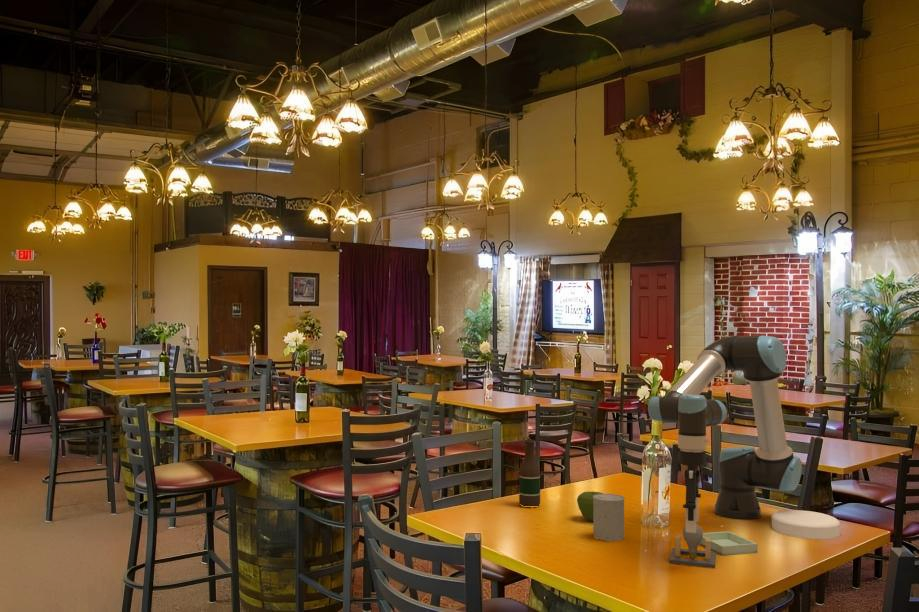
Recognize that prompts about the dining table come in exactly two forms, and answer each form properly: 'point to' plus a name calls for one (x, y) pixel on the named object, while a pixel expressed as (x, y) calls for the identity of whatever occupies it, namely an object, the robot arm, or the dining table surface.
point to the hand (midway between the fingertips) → (692, 526)
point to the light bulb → (693, 540)
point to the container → (805, 524)
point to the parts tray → (729, 543)
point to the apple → (586, 504)
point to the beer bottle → (529, 477)
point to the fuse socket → (707, 554)
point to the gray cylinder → (608, 517)
